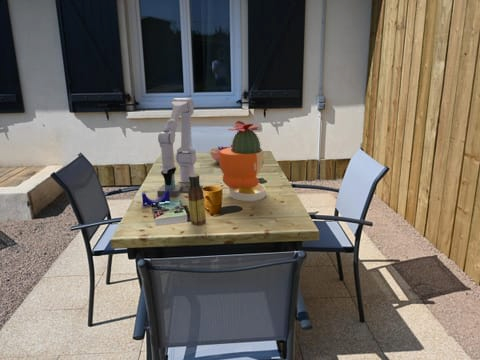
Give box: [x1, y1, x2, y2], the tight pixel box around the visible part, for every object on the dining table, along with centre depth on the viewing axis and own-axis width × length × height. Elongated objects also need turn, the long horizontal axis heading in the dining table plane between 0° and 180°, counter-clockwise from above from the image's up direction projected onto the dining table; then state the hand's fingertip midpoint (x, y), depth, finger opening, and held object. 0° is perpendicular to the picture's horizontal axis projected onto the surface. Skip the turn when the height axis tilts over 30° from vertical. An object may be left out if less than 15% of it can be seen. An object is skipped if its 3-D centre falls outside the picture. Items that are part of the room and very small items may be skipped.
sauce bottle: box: [187, 173, 207, 226], centre depth 162 cm, size 7×6×20 cm
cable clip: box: [141, 190, 171, 207], centre depth 188 cm, size 12×4×6 cm, turn 106°
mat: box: [181, 185, 204, 194], centre depth 207 cm, size 9×9×1 cm
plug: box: [163, 174, 176, 189], centre depth 202 cm, size 4×4×8 cm
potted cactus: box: [219, 120, 266, 202], centre depth 193 cm, size 22×22×35 cm
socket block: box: [156, 184, 184, 197], centre depth 203 cm, size 11×10×2 cm
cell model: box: [208, 144, 232, 164], centre depth 258 cm, size 17×20×11 cm
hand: (169, 183), depth 202 cm, fingers closed on plug, 4 cm apart
